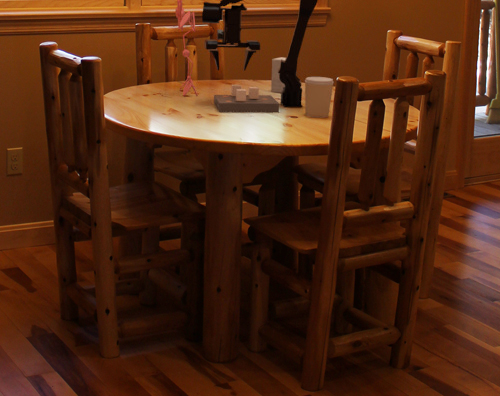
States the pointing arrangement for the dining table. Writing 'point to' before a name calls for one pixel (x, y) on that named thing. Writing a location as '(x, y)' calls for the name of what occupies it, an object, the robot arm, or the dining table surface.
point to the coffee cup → (318, 96)
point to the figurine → (182, 21)
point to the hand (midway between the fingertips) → (231, 70)
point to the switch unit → (246, 104)
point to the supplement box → (276, 76)
